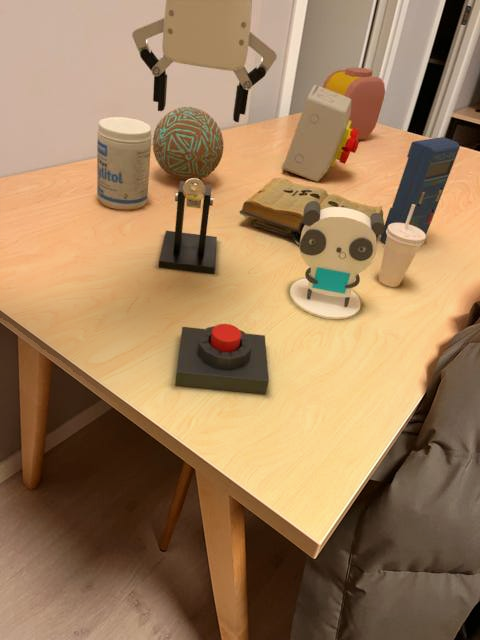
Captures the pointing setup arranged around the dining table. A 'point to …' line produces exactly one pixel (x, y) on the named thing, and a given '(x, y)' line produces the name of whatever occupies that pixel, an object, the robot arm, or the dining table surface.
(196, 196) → the lever
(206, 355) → the push button box
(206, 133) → the decorative sphere
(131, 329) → the dining table surface
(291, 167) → the electrical switch box
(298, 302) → the panda figurine
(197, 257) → the switch bracket
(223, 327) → the stop button
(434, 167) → the electronic device
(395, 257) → the smoothie
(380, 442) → the dining table surface
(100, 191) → the supplement tub
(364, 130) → the alarm clock
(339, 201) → the book
